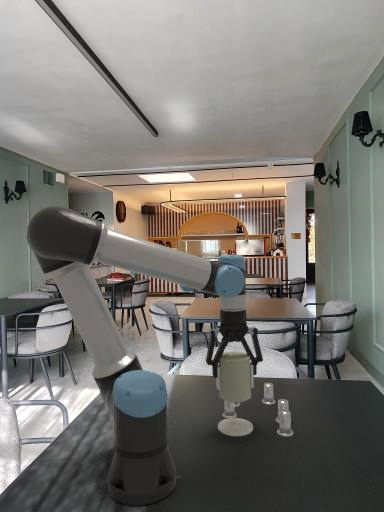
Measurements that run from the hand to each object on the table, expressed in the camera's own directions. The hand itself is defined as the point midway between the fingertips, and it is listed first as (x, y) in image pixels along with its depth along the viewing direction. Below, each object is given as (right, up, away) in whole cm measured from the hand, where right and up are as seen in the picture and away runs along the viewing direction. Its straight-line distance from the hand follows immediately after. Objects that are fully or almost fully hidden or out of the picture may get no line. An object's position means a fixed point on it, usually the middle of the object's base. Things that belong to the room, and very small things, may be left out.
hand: (234, 387), depth 108 cm
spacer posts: (+7, -11, +6) cm, 15 cm away
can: (0, -3, 0) cm, 3 cm away
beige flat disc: (0, -12, 0) cm, 12 cm away
